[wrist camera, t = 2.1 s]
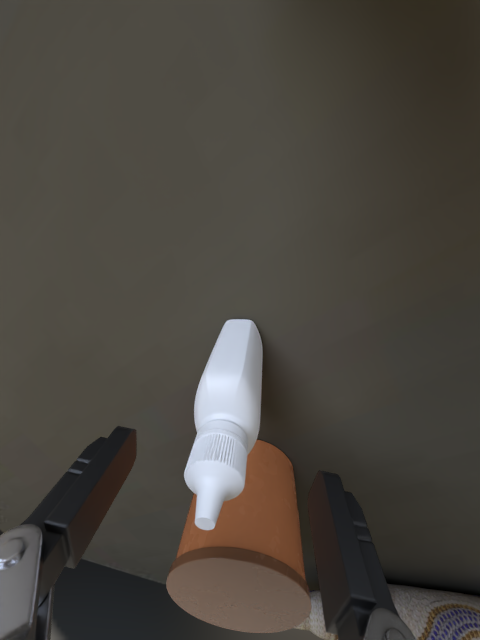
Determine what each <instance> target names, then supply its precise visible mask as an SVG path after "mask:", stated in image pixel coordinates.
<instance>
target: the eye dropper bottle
mask: <svg viewBox="0 0 480 640" xmlns="http://www.w3.org/2000/svg"><path fill="white" fill-rule="evenodd" d="M262 360H263V348H262V341H261V337H260V334H259V331H258V329H257V327H256V325H255V323H254V322H253V321H251V320H246V319H233V320H228V321H227V322H226V323H225V324H224V326H223V328H222V330H221V333H220V335H219V337H218V340H217V342H216V344H215V346H214V349H213V351H212V353H211V356H210V358H209V360H208V363H207V365H206V367H205V370H204V372H203V375H202V377H201V380H200V383H199V386H198V389H197V393H196V398H195V406H194V419H195V426H196V430H197V436H196V439H195V442H194V445H193V448H192V451H191V454H190V457H189V459H188V462H187V465H186V468H185V471H184V479H185V482H186V484H187V486H188V487H189V488H190V490H191V491H192V492H194V493H195V494H196V495H197V502H196V513H195V525H196V526H197V527H198V528H200V529H203V530H212V529H214V527H215V525H216V522H217V519H218V516H219V513H220V510H221V507H222V504H223V502H224V501H228V500H231V499H233V498H235V497H237V496H238V495H239V494H240V493H241V492H242V491H243V489H244V486H245V476H246V464H247V455H248V454H249V453H250V451H251V450H252V448H253V447H254V445H255V442H256V440H257V437H258V433H259V427H260V414H261V387H262Z"/></svg>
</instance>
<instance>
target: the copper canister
mask: <svg viewBox="0 0 480 640" xmlns="http://www.w3.org/2000/svg"><path fill="white" fill-rule="evenodd" d="M196 502H197V495H196V494H195V493H194V494H193V497H192V501H191V505H190V508H189V512H188V515H187V519H186V523H185V526H184V530H183V534H182V537H181V541H180V545H179V548H178V552H177V556H176V559H175V561H174V562H173V563H172V565H171V567H170V570H169V574H168V577H167V581H166V583H167V590H168V593H169V594H170V596H171V598H172V599H173V600H174V601H175V602H176V603H177V604H178V605H179V606H180V607H181V608H182V609H184V610H185V611H186V612H188V613H189V614H191V615H193V616H195V617H196V618H199V619H201V620H203V621H205V622H208V623H210V624H213V625H216V626H219V627H223V628H226V629H231V630H236V631H242V632H251V633H271V632H279V631H284V630H288V629H291V628H294V627H296V626H298V625H300V624H302V623H303V622H304V621H305V620H306V619H307V618H308V617H309V615H310V613H311V608H312V605H311V596H310V590H309V587H308V585H307V583H306V579H305V569H304V560H303V551H302V542H301V533H300V524H299V514H298V505H297V496H296V487H295V478H294V469H293V466H292V464H291V462H290V460H289V459H288V457H287V456H286V455H285V454H284V453H283V452H282V451H281V450H279V449H278V448H276V447H275V446H273V445H271V444H269V443H267V442H264V441H261V440H256V442H255V445H254V447H253V448H252V450H251V451H250V453H249V454H248V455H247V464H246V476H245V486H244V489H243V491H242V492H241V493H240V494H239V495H238V496H237V497H235V498H233V499H231V500H228V501H224V502H223V504H222V507H221V510H220V513H219V516H218V519H217V522H216V525H215V527H214V529H212V530H203V529H200V528H198V527H197V526H196V525H195V513H196Z"/></svg>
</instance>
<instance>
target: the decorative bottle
mask: <svg viewBox="0 0 480 640" xmlns="http://www.w3.org/2000/svg"><path fill="white" fill-rule="evenodd" d="M387 585H388V588H389V591H390V594H391V597H392V600H393V603H394V605H395V608H396V610H397V612H398V614H399V616H400V618H401V619H402V620H403V621H404V622H405V624H406V625H407V626H408V627H409V629H410V630H411V631H412V633H413V635H414V636H415V638H416V640H480V595H479V596H477V595H467V594H462V593H456V592H449V591H441V590H440V591H439V590H432V589H425V588H419V587H411V586H404V585H393V584H387ZM310 596H311V605H312V608H311V613H310V615H309V617H308V618H307V619H306V620H305V621H304V622H303V623H302V624H300V625H298V626H296V627H294V628H297V629H302V630H310V631H311V632H313V633H314V634H315V635H317V636H318V637H320V638H323V639H325V640H337V639H338V635H336V634H332V633H327V632H326V628H325V621H324V615H323V608H322V601H321V594H320V590H317V591H315V590H313V591H310Z"/></svg>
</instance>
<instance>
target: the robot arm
mask: <svg viewBox="0 0 480 640" xmlns="http://www.w3.org/2000/svg"><path fill="white" fill-rule="evenodd" d="M135 458H136V430H135V429H130V428H125V427H121V426H118V427H116V428H115V429H114V431H113V432H112V433H111V434H110V436H109V437H108V438H104V437H100V438H99V439H97V440H96V441H94V442H93V443H92V444H90V445H89V446H87V448H86V449H85V450H84V451H83V452H82V454H81V455H80V456H79V457H78V458H77V461H75V462H74V463H73V464H72V466H71V467H70V468H69V469H68V472H66V473H65V474H64V475H63V476H62V478H61V479H60V480H59V481H58V483H57V484H56V485H55V486H54V487H53V489H52V490H51V491H50V492H49V493H48V495H47V496H46V497H45V498H44V499H43V501H42V502H41V503H40V504H39V505H38V507H37V508H36V509H35V510H34V511H33V513H32V514H31V515H30V516H29V517H28V518H27V519H26V520H25V521H24V522H23V523H22V524H21V525H19V526H17V527H15V528H12V529H10V530H9V531H7V532H5V533H4V534H2V535H1V536H0V640H50V636H51V622H52V610H53V597H54V585H55V584H54V583H55V581H56V580H57V578H58V576H59V575H60V573H61V571H62V570H63V568H64V566H66V567H70V568H74V569H75V568H76V566H77V564H78V562H79V561H80V559H81V557H82V555H83V554H84V552H85V550H86V548H87V547H88V545H89V543H90V541H91V539H92V538H93V536H94V534H95V532H96V531H97V529H98V527H99V525H100V524H101V522H102V520H103V518H104V517H105V515H106V513H107V511H108V509H109V508H110V506H111V504H112V502H113V501H114V499H115V497H116V495H117V494H118V492H119V490H120V488H121V487H122V485H123V483H124V481H125V480H126V478H127V476H128V474H129V472H130V471H131V469H132V467H133V464H134V462H135ZM308 512H309V519H310V526H311V533H312V540H313V546H314V553H315V560H316V567H317V574H318V580H319V587H320V594H321V601H322V608H323V615H324V621H325V628H326V632H327V633H332V634H336V635H338V640H416V638H415V636H414V635H413V633H412V631H411V630H410V629H409V627H408V626H407V625H406V624H405V622H404V621H403V620H402V619H401V618H400V616H399V614H398V612H397V610H396V608H395V605H394V603H393V600H392V597H391V594H390V591H389V588H388V585H387V582H386V579H385V576H384V573H383V570H382V567H381V565H380V562H379V559H378V556H377V553H376V550H375V547H374V544H373V543H372V538H371V535H370V532H369V529H368V528H367V523H366V520H365V517H364V514H363V511H362V508H361V507H360V505H359V504H358V502H357V501H356V499H355V498H354V496H353V494H352V493H350V492H345V491H344V489H343V485H342V482H341V479H340V477H339V475H338V474H334V473H329V472H324V471H318V473H317V475H316V478H315V480H314V482H313V485H312V487H311V489H310V492H309V496H308Z"/></svg>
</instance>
